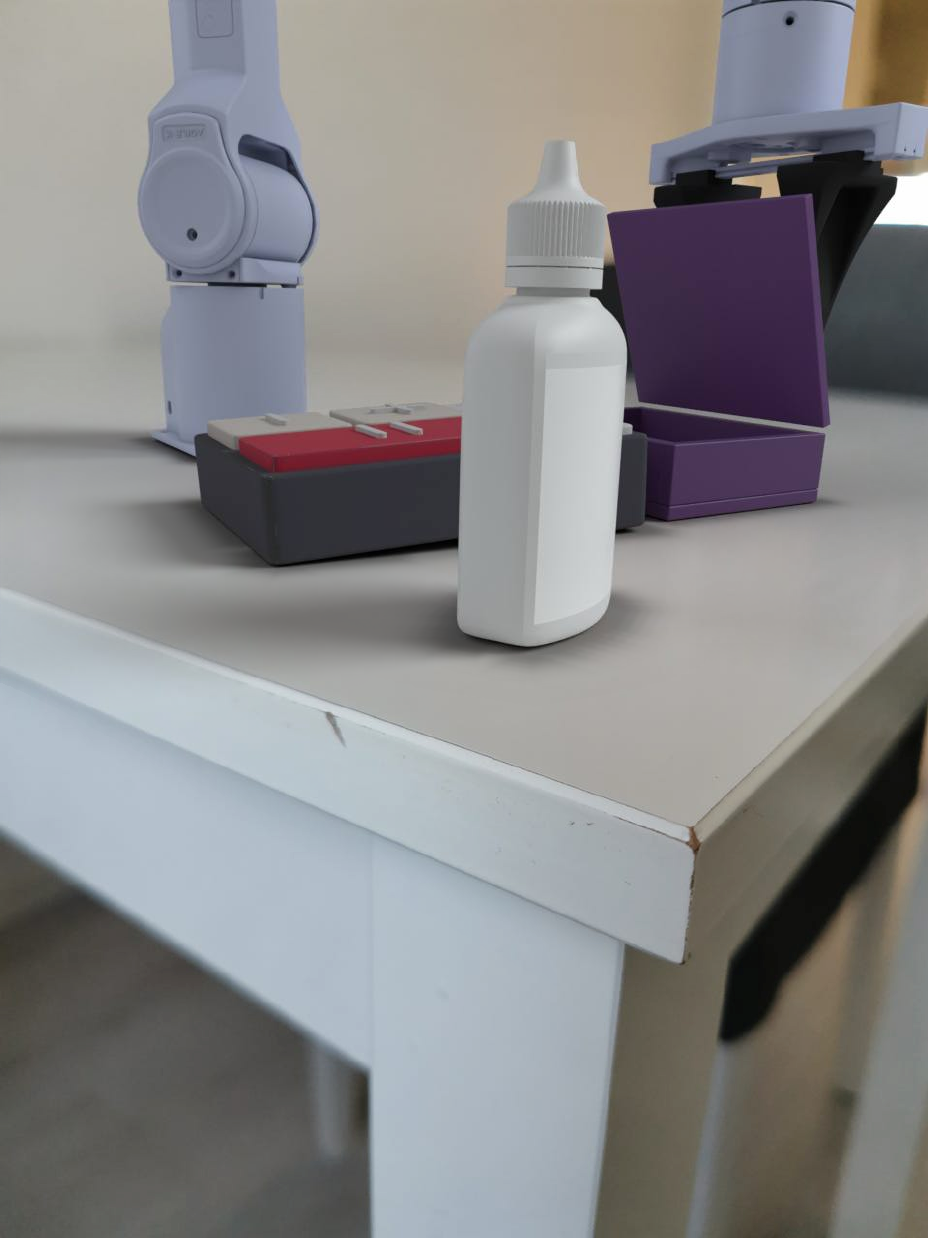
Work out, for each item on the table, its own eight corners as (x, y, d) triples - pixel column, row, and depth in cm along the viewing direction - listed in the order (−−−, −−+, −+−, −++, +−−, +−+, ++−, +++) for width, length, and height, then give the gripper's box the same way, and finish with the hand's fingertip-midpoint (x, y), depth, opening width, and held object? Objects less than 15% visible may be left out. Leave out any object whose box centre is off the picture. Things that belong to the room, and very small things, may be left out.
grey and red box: (188, 414, 40) (512, 388, 46) (200, 518, 41) (512, 479, 47) (259, 453, 30) (654, 413, 36) (272, 585, 32) (649, 525, 38)
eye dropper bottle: (667, 626, 27) (712, 143, 23) (493, 659, 24) (512, 116, 20) (570, 586, 30) (596, 162, 26) (410, 610, 27) (413, 141, 24)
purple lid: (804, 196, 39) (877, 166, 41) (605, 214, 49) (671, 189, 50) (823, 428, 43) (888, 393, 45) (638, 402, 53) (697, 374, 55)
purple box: (667, 521, 40) (674, 444, 39) (499, 474, 50) (502, 412, 49) (817, 501, 44) (826, 433, 43) (636, 463, 54) (641, 406, 53)
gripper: (994, -4, 40) (936, 341, 44) (728, 61, 51) (703, 330, 56) (886, -38, 36) (835, 341, 40) (626, 40, 48) (608, 329, 52)
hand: (752, 335), depth 48 cm, fingers closed on purple lid, 5 cm apart
